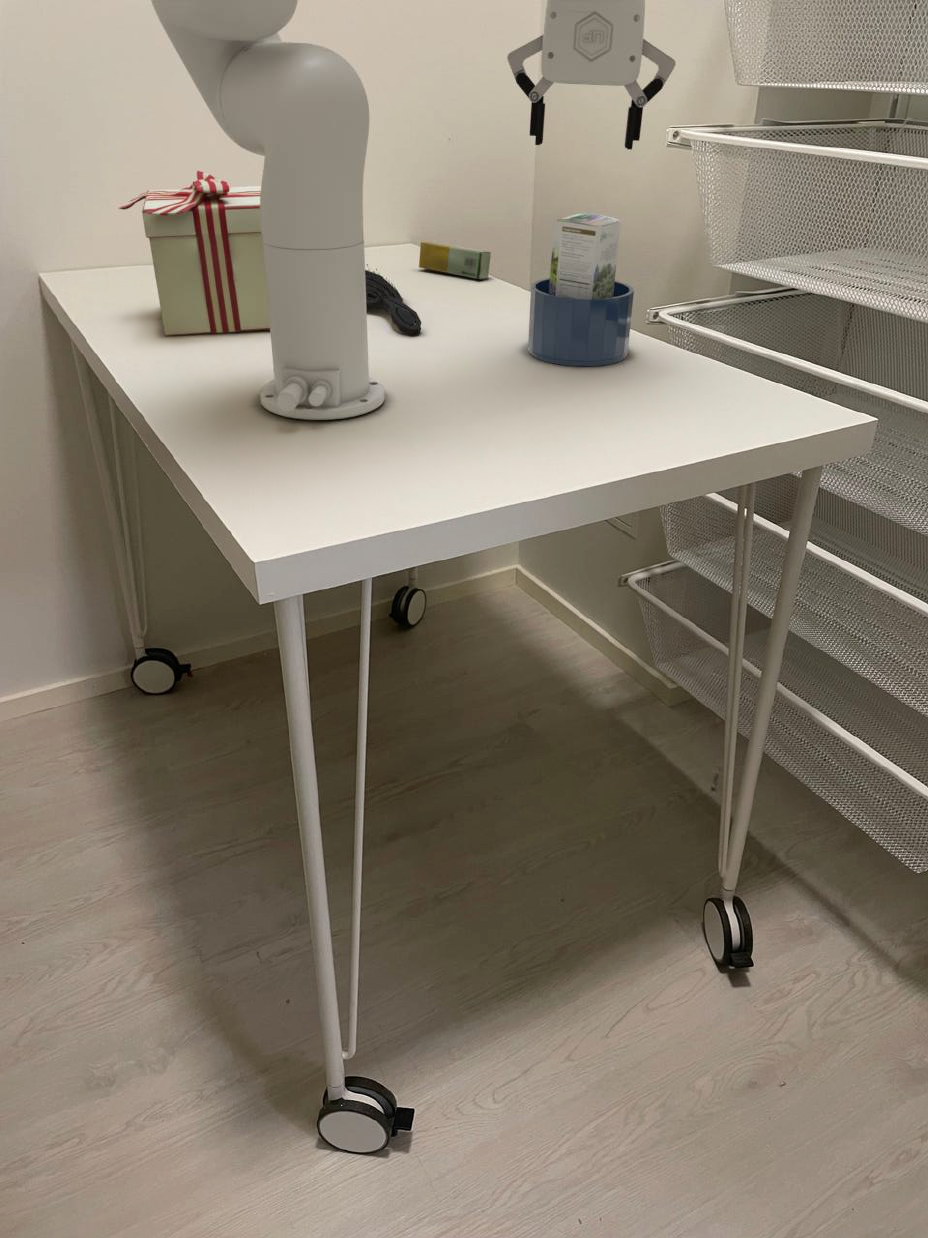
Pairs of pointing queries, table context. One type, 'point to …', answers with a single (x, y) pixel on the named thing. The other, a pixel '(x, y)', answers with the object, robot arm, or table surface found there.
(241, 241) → the gift box
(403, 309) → the hairbrush
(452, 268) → the medication box
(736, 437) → the table surface
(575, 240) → the syrup box
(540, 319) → the crock
